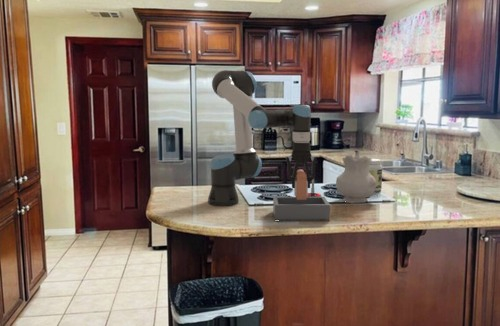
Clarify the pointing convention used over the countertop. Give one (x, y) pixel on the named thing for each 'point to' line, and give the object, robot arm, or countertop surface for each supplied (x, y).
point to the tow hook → (313, 191)
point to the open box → (301, 209)
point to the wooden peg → (301, 185)
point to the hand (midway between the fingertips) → (300, 195)
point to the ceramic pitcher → (356, 179)
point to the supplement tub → (376, 172)
